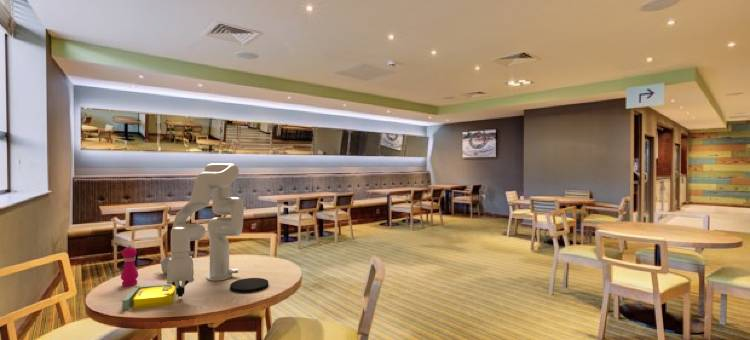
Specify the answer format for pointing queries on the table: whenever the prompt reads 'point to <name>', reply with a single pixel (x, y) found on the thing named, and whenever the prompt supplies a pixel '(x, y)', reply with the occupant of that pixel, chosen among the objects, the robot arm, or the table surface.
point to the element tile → (154, 297)
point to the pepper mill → (129, 267)
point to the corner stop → (128, 299)
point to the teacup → (164, 264)
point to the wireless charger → (249, 285)
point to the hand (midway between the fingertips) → (180, 295)
